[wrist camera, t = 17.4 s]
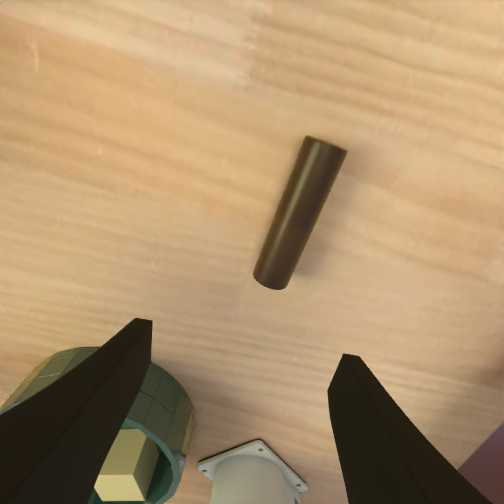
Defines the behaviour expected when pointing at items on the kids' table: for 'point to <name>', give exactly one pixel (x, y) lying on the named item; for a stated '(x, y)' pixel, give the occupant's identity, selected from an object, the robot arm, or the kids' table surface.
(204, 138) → the kids' table surface
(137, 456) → the cream block
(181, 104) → the kids' table surface
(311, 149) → the dark brown cylinder
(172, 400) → the bowl
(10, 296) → the kids' table surface
